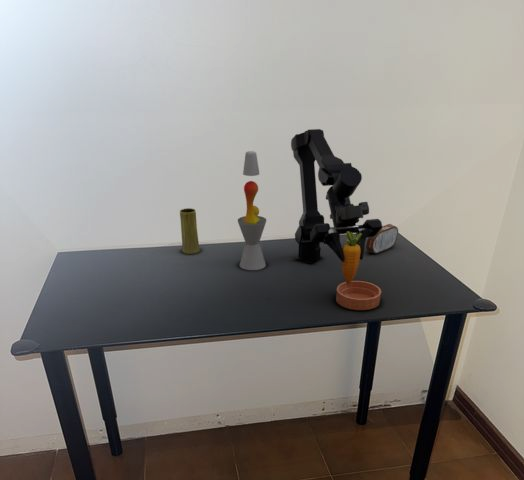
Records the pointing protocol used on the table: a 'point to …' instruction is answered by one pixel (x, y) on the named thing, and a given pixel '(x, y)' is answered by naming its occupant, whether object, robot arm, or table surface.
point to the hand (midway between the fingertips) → (352, 260)
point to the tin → (382, 239)
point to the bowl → (358, 295)
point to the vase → (189, 231)
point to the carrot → (351, 257)
